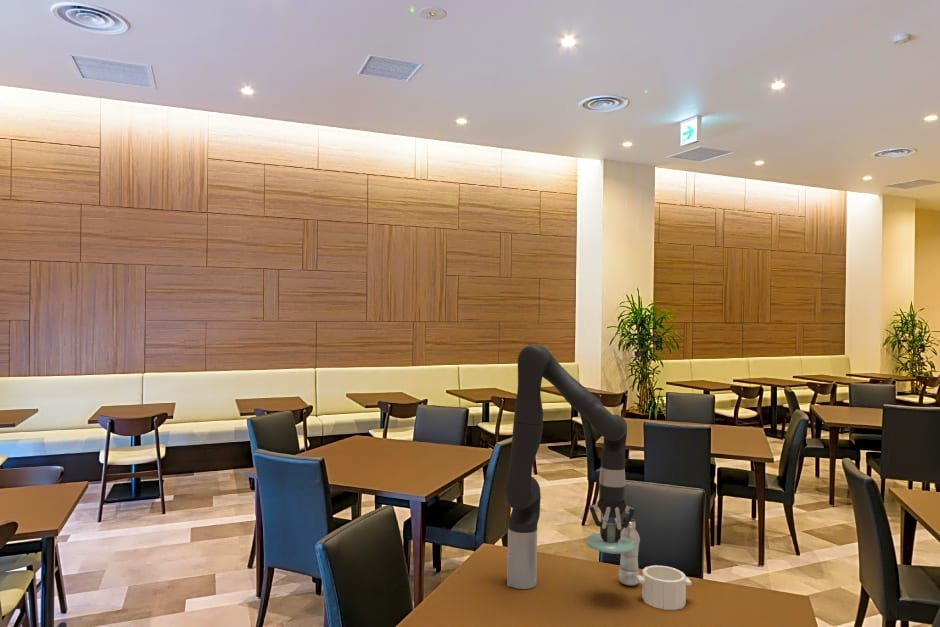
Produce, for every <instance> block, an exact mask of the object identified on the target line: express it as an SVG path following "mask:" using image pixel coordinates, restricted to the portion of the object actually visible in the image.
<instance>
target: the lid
mask: <svg viewBox="0 0 940 627" xmlns="http://www.w3.org/2000/svg"><path fill="white" fill-rule="evenodd" d="M606 529H607V531H606V541H603V539H602V538H601V532H600V533H592V534H589V535H588V536H587V537H586V545H587V546H588V547H590V549H593V550H594V551H595V550H596V551H598V552H601V553H605V554H611V555H612V554H615V555H621V554H624V553H629V552H631V551H633V550H634V548H635V544H634V542H633V541H632V540H631V539H629V538H626V537H624V536H621V539H620V540H618V542H616V523H613V522H607V525H606Z"/></svg>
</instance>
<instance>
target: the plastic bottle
mask: <svg viewBox="0 0 940 627" xmlns="http://www.w3.org/2000/svg"><path fill="white" fill-rule="evenodd" d="M636 526H637V525H636V520H635V519H633V518H631V520H630V522H629V524H628V526H627V528H622V529H621V536H624V537H626V538H629V539H631V540H632V541H633V542H634V544H635V548H634V550H633V551H631V552H629V553H624V554H620V560H619V561H620V563H619V569H618V580H619V582H620V583H621V584H623V585H625V586H631V587H632V586H637V585H638V584H639V581H638V579H637V575H639V576H640V571H639V570H640V569H639V560H638V559H639V557H638V556H639V549H640V548H639V546H640V541H641V538H640V535H639V533H638V531H637V530H636Z"/></svg>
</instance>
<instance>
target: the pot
mask: <svg viewBox="0 0 940 627" xmlns="http://www.w3.org/2000/svg"><path fill="white" fill-rule="evenodd" d="M637 579H638V581H639V582H638V584H642V585H641V587H642V588H641V590H642V591H641V599H642V600H643V602H644V603H646V604H647V605H649V606H651V607H652V608H657V609H660V610H664V611H666V610H667V611H676V610H680V609H681V610H682V609H684V607H685V605H686V602H687V601H686V600H687V599H686V598H687V586H692V585H693V584H692V583H693V582H692V581H691V580H690V578H689V577H687V576H686V574H685V573H684V572H683V571H681V570H679V569H677V568H674V567H671V566H666V565H656V564H655V565H649V566H645V567H644V568H643V569H642V575H640V574H639V575H637Z"/></svg>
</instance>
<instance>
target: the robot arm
mask: <svg viewBox="0 0 940 627" xmlns="http://www.w3.org/2000/svg"><path fill="white" fill-rule="evenodd" d="M543 379H545V380H547V381H548V383H550V384H551V385H552V386H553V387H554V388H555V389H556V390H557V391H558V392H559V393H560V395H562V396H561V397H563V398H564V400H565V401H566V402H567V403H568V404H569V405H570V406H571V407H572V408H573V409H574V410H575V411H577V412H578V413H579V414H580V416H582V417H583V418H585V419H586V420H587V421H588V422H589V423H590V424H591V426H592V427H593V428H594V429H595V430H596V431H597V433H599V434H600V435H601V436H602V437H603V446H602V449H601V452H600V470H599V478H598V481H599V482H598V483H599V485H598V487H599V488H598V489H599V490H598V491H599V492H598V500H597V503H596V504H595V503H594V504H593V505H592V504H589V505H588V509H589V511H590V514H591V516H592V519H593V521H594V524H595V525H596V527H599V528H600V533H601V538H602V539H603V541H606V531H607V529H606V525H607V523H609V522H608V521H609V518H614V521H615V523H614V524H616V542H618V540H620V539H621V531H622V530H623V529H624V528H627V526H628V524H629V522H630V520H631V519H633V516H634V514H635V509H634V508H633V507H632V506H629V505H627V504H626V499H625V498H626V493H625V492H626V471H625V470H626V445H627V437H628V436H627V435H628V425H627V421H626V420H625V418H624V417H622V416H621V415H618V414H613V413H612V412H610V411H609V410H608V409H607V408H606V407H605V406H604V404H603V402H602V401H601V399H599V398H598V397H596V395H594V394H593V393H592V392H591V391H589V389H588V388H586V387H585V386H584V385H583V384H582V383H580V382H579V381H578V380H577V379H576V378H574V377H573V376H572V375H571V374H570V373H569V372H568V371H567V370H566V369H565V368H564V367H563V366H562V365H561V364H560V363H559V361H557V359H556V358H555V357H554V356H553V355H552V354H551V352H550V351H549V349H547V347H545V346H543V345H540V344H531V345H527V346H525V347H523V348H522V349H521V350H520V352H519V353H518V357H517V392H516V400H515V408H514V417H513V424H512V435H511V436H512V437H511V438H512V439H511V448H510V449H511V450H510V461H509V467H508V468H509V469H508V473H507V479H506V485H505V490H504V495H505V500H506V503H507V504H508V506H509V507H510V508H511V513H510V515H509V517H508V520H507V550H506V551H507V553H506V556H507V557H506V562H507V563H506V587H511V588H513V589H518V590H529V589H530V590H531V589H533V588H535V587H536V586H537V580H538V579H537V577H538V576H537V573H538V572H537V570H538V569H537V566H538V565H537V564H538V562H537V561H538V557H537V556H538V555H537V554H538V525H539V524H538V523H539V519H540V514H541V495H542V494H541V493H542V492H541V487H540V484H539V482H538V481H537V479H535V478H534V477H533V476H532V472H533V467H534V463H535V459H536V456H537V453H538V451H539V448H540V445H541V441H542V437H543V427H544V409H543V403H542V396H541V389H542V382H543V381H542V380H543ZM598 509H599V510H600V512H601V520H599V518H598V516H597V513H598ZM624 511H625V516H623V517H624V518H623V520H622V521H621V515H622V513H623V512H624Z"/></svg>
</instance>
